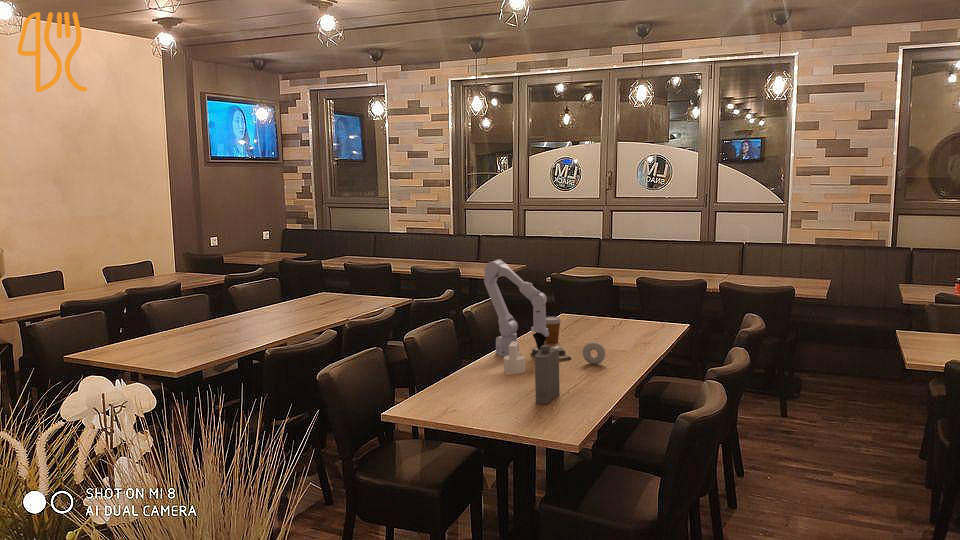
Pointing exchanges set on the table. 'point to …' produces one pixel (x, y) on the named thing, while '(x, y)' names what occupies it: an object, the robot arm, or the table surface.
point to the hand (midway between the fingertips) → (540, 349)
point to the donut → (589, 357)
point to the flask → (546, 374)
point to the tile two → (558, 348)
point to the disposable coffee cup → (552, 329)
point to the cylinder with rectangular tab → (514, 360)
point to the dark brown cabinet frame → (561, 355)
